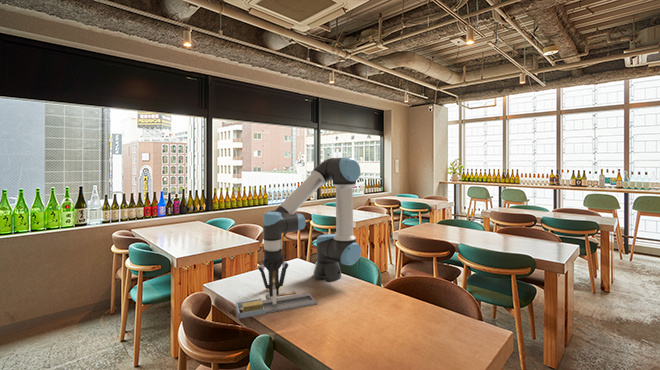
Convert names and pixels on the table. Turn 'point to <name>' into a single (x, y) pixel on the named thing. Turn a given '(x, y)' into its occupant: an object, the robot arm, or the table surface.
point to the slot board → (289, 302)
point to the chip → (247, 307)
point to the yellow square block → (257, 305)
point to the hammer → (280, 294)
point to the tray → (250, 313)
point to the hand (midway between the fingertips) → (274, 302)
